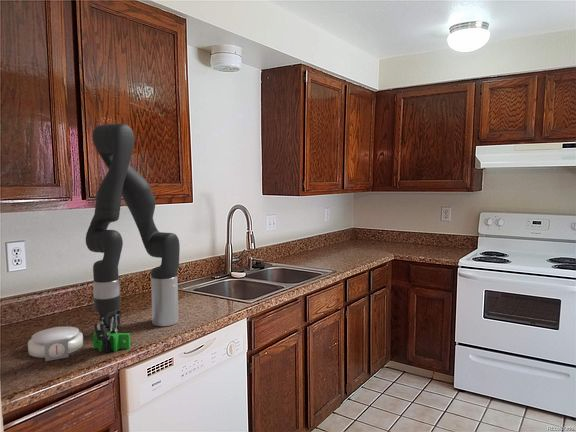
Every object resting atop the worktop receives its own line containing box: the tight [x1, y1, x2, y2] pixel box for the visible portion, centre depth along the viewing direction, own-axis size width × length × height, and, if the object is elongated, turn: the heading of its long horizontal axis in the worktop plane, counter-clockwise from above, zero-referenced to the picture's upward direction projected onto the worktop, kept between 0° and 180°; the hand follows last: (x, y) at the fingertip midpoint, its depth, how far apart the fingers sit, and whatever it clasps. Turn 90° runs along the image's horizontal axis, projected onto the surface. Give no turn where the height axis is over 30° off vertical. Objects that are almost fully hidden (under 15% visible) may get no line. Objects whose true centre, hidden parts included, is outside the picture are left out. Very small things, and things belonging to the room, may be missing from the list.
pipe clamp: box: [92, 332, 131, 353], centre depth 132 cm, size 11×4×5 cm, turn 89°
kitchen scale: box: [27, 326, 84, 362], centre depth 132 cm, size 18×15×5 cm
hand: (109, 348), depth 132 cm, fingers closed on pipe clamp, 3 cm apart
